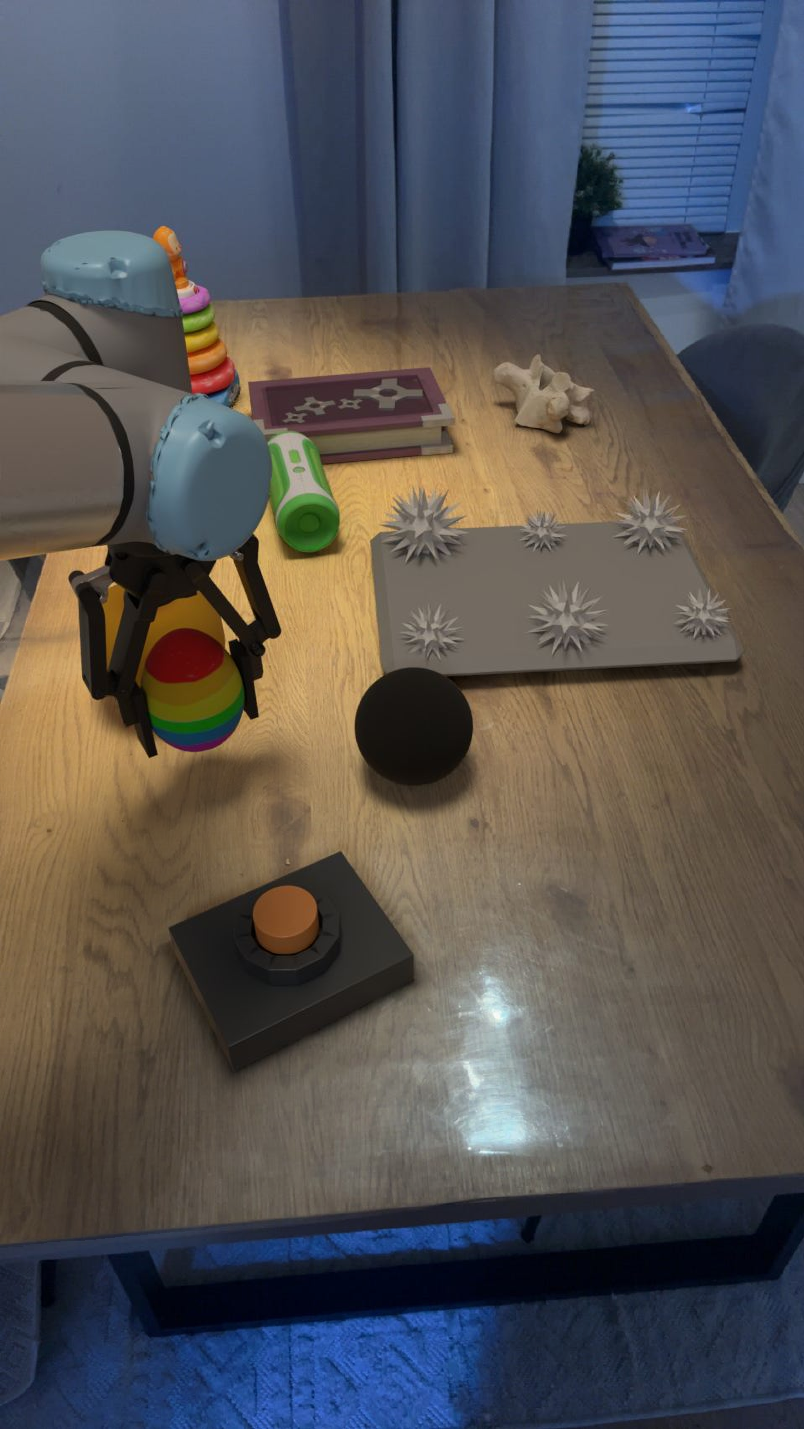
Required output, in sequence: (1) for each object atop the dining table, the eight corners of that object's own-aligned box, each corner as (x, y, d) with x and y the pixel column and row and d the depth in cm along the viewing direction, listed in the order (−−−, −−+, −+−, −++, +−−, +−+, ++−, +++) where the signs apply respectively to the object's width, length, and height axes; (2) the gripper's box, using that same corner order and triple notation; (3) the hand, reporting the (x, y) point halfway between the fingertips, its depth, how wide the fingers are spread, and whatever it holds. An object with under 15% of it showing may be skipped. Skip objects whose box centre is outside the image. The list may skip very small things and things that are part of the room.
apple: (76, 730, 93) (45, 630, 85) (127, 644, 102) (104, 547, 95) (210, 745, 91) (191, 645, 84) (250, 656, 101) (237, 559, 93)
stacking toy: (226, 423, 139) (202, 244, 123) (135, 419, 140) (100, 241, 124) (247, 381, 149) (227, 211, 133) (162, 378, 150) (133, 209, 134)
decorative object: (555, 451, 134) (557, 399, 128) (475, 414, 141) (473, 363, 135) (595, 419, 138) (599, 366, 132) (515, 385, 145) (515, 333, 138)
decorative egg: (238, 689, 88) (223, 594, 81) (258, 751, 82) (244, 655, 75) (143, 709, 86) (120, 614, 79) (157, 774, 80) (133, 677, 74)
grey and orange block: (234, 1072, 68) (224, 1032, 64) (174, 953, 75) (163, 911, 71) (414, 980, 73) (414, 938, 69) (342, 876, 80) (339, 834, 76)
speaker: (344, 553, 114) (341, 494, 109) (280, 561, 113) (274, 502, 108) (319, 478, 127) (315, 422, 122) (262, 485, 126) (255, 429, 121)
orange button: (272, 965, 68) (269, 947, 67) (245, 919, 71) (242, 901, 70) (330, 937, 70) (328, 919, 69) (302, 893, 73) (299, 875, 71)
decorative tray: (383, 693, 96) (380, 608, 90) (369, 546, 115) (366, 467, 109) (744, 673, 98) (768, 588, 91) (671, 532, 117) (687, 453, 110)
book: (258, 472, 129) (254, 435, 125) (251, 416, 140) (247, 381, 137) (454, 454, 132) (455, 418, 128) (430, 400, 143) (430, 366, 140)
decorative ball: (339, 794, 86) (333, 707, 80) (379, 720, 93) (376, 633, 87) (451, 822, 84) (454, 734, 77) (484, 743, 91) (489, 656, 84)
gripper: (8, 552, 62) (89, 803, 78) (313, 465, 70) (332, 710, 85) (-20, 499, 67) (61, 745, 82) (268, 423, 75) (293, 662, 90)
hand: (199, 727), depth 84 cm, fingers closed on decorative egg, 8 cm apart
